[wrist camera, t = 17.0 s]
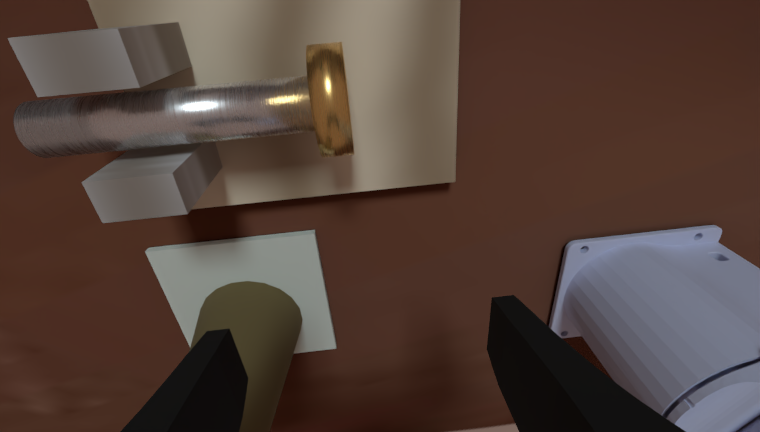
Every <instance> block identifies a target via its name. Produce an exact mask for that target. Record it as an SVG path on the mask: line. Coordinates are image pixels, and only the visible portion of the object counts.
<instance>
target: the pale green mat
mask: <svg viewBox="0 0 760 432" xmlns="http://www.w3.org/2000/svg"><path fill="white" fill-rule="evenodd" d="M145 253H146V255H147V257H148V259H149V261H150V263H151V265H152V268H153V270H154V272H155V274H156V276H157V278H158V280H159V282H160V285H161V287H162V289H163V291H164V293H165V295H166V297H167V299H168V302H169V304H170V306H171V308H172V310H173V312H174V314H175V316H176V319H177V321H178V323H179V325H180V327H181V329H182V331H183V333H184V336H185V338H186V340H187V342H188V344H189V346H190V347H191V343H192V339H193V335H194V332H195V328H196V324H197V320H198V316H199V313H200V309H201V307H202V305H203V303H204V301H205V299H206V297H208V296H209V295H210V294H211V293H212V292H213V291H215V290H216V289H217V288H220V287H222V286H225V285H227V284H230V283H235V282H243V281H252V282H260V283H266V284H268V285H271V286H274V287H276V288H279V289H281V290H282V291H284V292H285V293H286V294H288V295H289V296H290V297H292V298H293V300H294V301H295V302H296V304H297V305H298V307H299V308H300V311H301V315H302V319H303V320H302V325H301V331H300V334H299V337H298V341H297V344H296V347H295V350H294V354H295V353H303V352H311V351H320V350H328V349H336V339H335V333H334V328H333V323H332V317H331V312H330V307H329V302H328V296H327V291H326V286H325V280H324V275H323V270H322V265H321V259H320V254H319V249H318V243H317V238H316V233H315V230H308V231H299V232H290V233H281V234H271V235H262V236H253V237H244V238H234V239H225V240H216V241H207V242H197V243H188V244H179V245H170V246H160V247H151V248H148V249H147V250H146V252H145Z"/></svg>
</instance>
